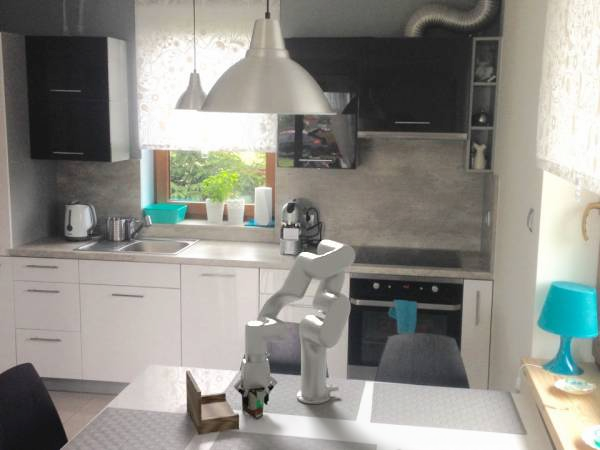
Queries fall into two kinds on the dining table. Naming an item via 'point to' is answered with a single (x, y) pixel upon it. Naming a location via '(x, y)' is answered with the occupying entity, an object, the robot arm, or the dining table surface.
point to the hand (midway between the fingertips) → (255, 404)
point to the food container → (254, 402)
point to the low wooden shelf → (209, 409)
